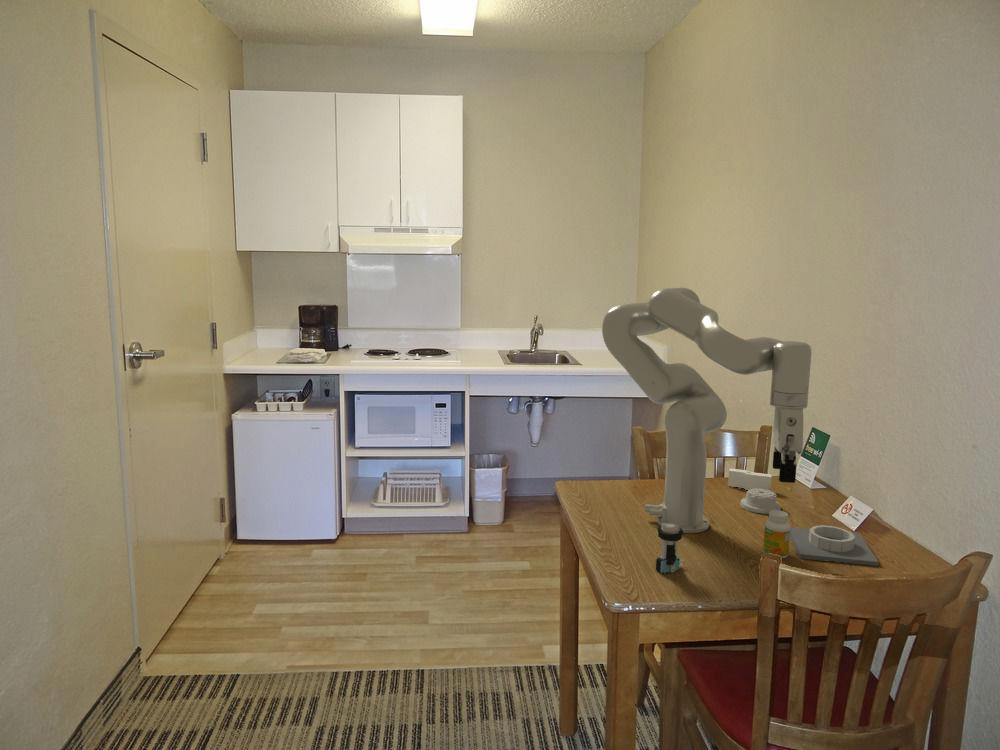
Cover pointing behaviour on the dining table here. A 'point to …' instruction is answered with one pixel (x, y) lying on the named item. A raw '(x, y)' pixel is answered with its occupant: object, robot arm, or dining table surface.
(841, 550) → the ring plate
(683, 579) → the dining table surface
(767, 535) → the supplement bottle
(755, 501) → the mechanical component
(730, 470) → the napkin holder
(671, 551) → the push button
